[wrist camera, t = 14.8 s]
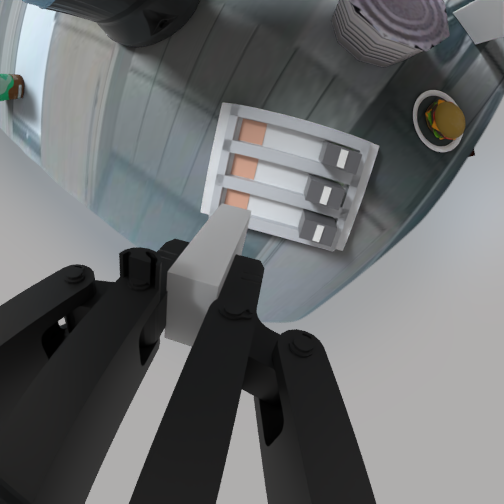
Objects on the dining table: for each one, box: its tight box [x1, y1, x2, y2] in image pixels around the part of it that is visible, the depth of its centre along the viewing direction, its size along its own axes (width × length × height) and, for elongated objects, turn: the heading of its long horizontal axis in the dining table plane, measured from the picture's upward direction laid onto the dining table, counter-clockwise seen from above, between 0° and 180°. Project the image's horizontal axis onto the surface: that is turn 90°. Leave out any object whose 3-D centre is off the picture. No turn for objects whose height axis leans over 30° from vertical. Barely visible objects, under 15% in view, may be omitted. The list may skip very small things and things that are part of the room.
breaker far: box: [298, 209, 338, 247], centre depth 33 cm, size 4×2×4 cm, turn 77°
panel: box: [201, 102, 379, 252], centre depth 33 cm, size 20×15×3 cm
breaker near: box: [318, 141, 362, 174], centre depth 29 cm, size 4×2×4 cm, turn 77°
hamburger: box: [413, 90, 475, 157], centre depth 25 cm, size 12×12×6 cm
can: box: [331, 0, 449, 67], centre depth 18 cm, size 11×11×12 cm
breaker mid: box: [304, 174, 345, 210], centre depth 31 cm, size 4×2×4 cm, turn 77°
